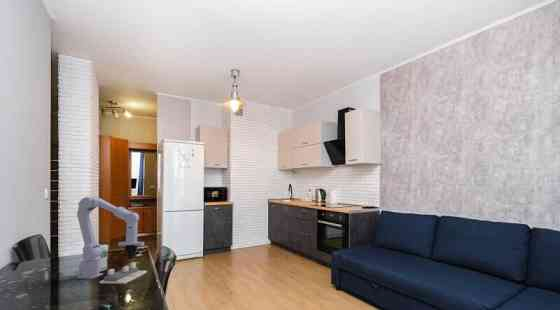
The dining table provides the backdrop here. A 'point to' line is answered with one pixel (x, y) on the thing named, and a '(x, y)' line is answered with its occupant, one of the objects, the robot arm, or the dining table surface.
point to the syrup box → (104, 258)
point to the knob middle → (125, 268)
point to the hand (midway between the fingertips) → (130, 258)
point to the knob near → (111, 271)
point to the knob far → (132, 265)
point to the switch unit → (123, 276)
